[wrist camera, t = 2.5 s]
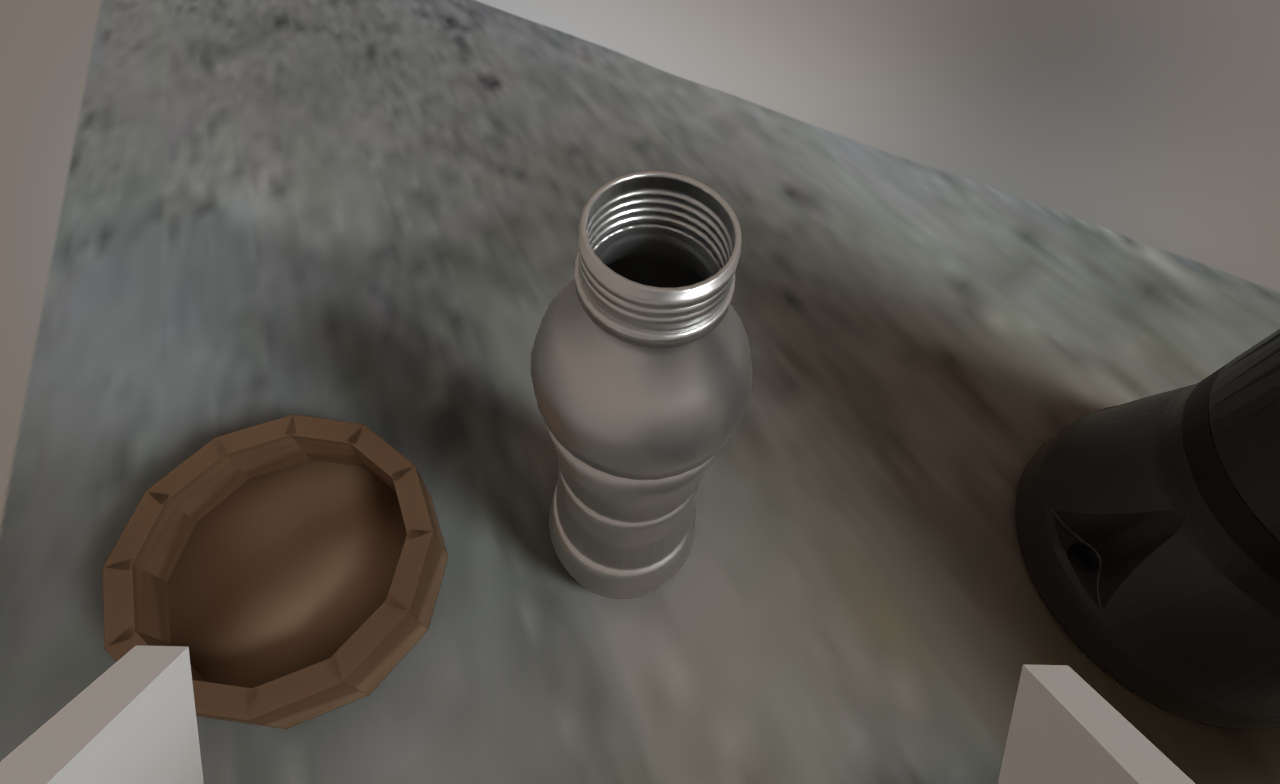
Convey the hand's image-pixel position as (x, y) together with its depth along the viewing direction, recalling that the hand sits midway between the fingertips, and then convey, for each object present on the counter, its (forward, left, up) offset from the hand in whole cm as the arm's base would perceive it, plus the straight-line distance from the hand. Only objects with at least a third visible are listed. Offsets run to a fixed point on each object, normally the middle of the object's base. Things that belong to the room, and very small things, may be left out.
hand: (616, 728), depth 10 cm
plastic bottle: (+5, -8, -19) cm, 21 cm away
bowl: (+15, +2, -18) cm, 24 cm away
